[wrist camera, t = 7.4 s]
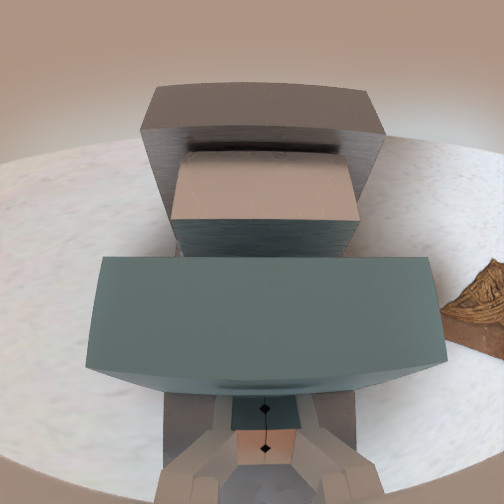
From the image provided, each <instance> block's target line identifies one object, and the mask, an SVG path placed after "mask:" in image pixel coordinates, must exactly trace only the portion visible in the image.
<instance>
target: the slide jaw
mask: <svg viewBox="0 0 504 504" xmlns="http://www.w3.org/2000/svg"><path fill="white" fill-rule="evenodd" d="M446 361H448V359H447V352H446V345H445V338H444V332H443V326H442V320H441V314H440V309H439V304H438V299H437V294H436V290H435V285H434V281H433V276H432V272H431V268H430V264H429V260H428V257H372V258H259V257H103V259H102V264H101V269H100V274H99V279H98V284H97V289H96V295H95V301H94V307H93V313H92V319H91V326H90V333H89V341H88V349H87V358H86V368H89V369H91V370H94V371H97V372H100V373H103V374H106V375H109V376H112V377H115V378H118V379H121V380H124V381H127V382H131V383H134V384H137V385H140V386H144V387H147V388H151V389H154V390H158V391H162V392H172V393H186V394H205V395H291V394H309V393H324V392H336V391H347V390H356V389H360V388H364V387H368V386H371V385H375V384H379V383H382V382H386V381H389V380H393V379H396V378H399V377H402V376H406V375H409V374H412V373H415V372H418V371H421V370H424V369H427V368H430V367H433V366H435V365H438V364H441V363H444V362H446Z"/></svg>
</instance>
